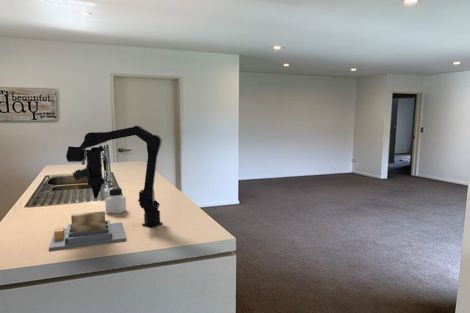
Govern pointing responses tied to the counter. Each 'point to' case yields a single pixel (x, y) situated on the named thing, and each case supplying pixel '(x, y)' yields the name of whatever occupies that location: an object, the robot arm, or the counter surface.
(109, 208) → the medicine bottle
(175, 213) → the counter surface
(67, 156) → the robot arm
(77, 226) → the oak divider
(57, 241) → the slotted rack
